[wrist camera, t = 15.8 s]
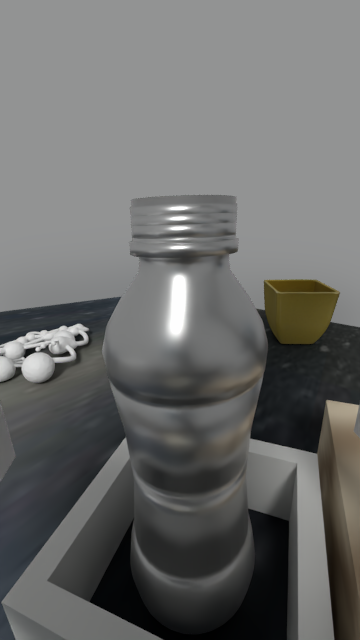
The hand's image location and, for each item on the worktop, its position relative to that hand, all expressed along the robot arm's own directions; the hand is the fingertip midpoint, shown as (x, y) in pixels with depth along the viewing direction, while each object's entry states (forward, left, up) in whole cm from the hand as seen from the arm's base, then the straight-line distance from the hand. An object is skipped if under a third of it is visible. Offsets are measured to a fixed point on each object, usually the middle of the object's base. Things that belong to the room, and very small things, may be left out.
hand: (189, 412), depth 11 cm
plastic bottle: (-2, -1, -13) cm, 13 cm away
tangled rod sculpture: (-21, -32, -13) cm, 40 cm away
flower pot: (-39, +4, -13) cm, 41 cm away
